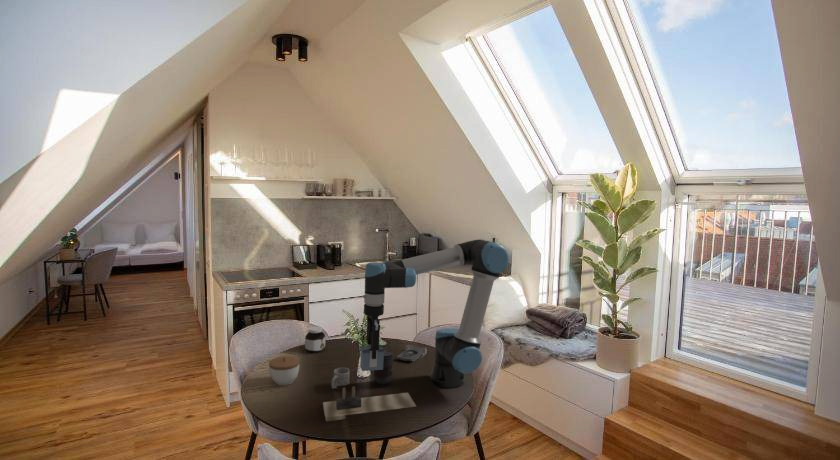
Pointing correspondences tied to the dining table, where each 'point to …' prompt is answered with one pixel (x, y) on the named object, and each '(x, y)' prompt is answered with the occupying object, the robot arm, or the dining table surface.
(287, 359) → the lidded bowl
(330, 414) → the board
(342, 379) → the mug
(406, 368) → the dining table surface
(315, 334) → the spread jar
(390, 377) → the camera lens
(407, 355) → the graphics card
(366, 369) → the block
